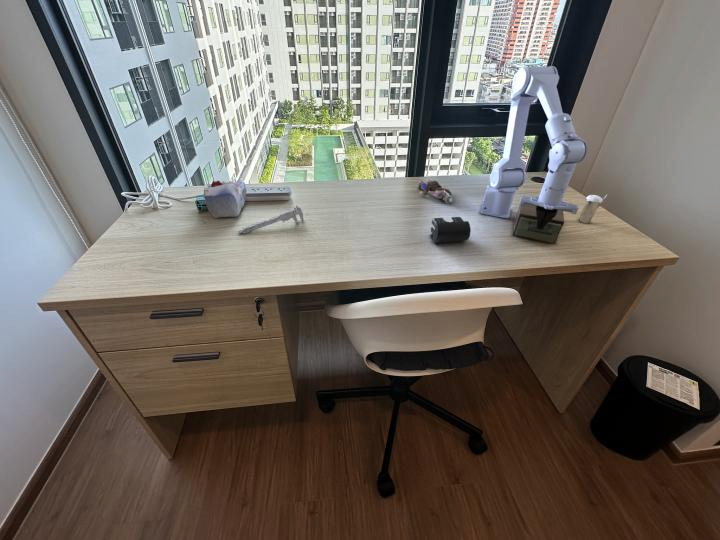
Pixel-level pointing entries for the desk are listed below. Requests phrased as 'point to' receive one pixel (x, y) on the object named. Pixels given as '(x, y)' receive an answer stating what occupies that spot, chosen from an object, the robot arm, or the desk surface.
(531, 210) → the cabinet
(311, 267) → the desk surface
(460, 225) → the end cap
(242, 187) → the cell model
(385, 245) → the desk surface
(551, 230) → the drawer
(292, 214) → the caliper
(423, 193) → the warrior figurine
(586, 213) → the milkshake
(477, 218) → the desk surface
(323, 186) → the desk surface
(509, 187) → the robot arm
